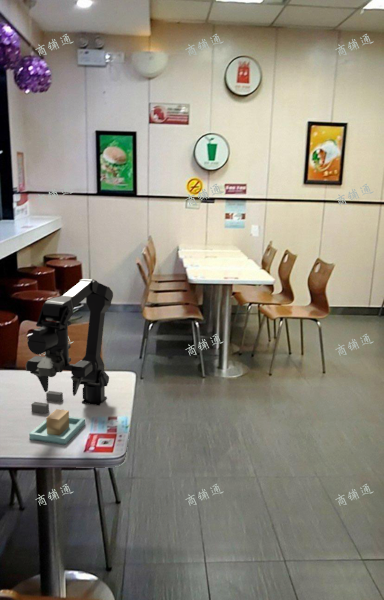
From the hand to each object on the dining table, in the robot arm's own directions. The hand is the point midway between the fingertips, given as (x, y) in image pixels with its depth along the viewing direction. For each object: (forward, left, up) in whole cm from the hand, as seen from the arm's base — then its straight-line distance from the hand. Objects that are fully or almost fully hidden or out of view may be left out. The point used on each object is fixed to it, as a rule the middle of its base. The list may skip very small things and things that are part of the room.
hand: (60, 393), depth 145 cm
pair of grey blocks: (+12, -12, -11) cm, 20 cm away
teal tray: (0, +3, -11) cm, 11 cm away
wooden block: (0, +3, -10) cm, 11 cm away
